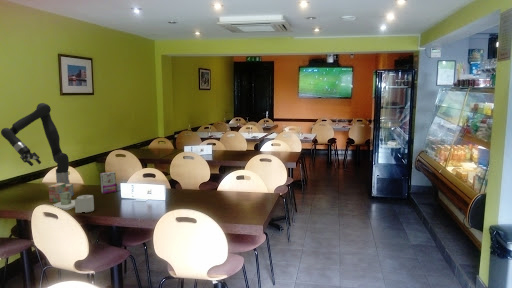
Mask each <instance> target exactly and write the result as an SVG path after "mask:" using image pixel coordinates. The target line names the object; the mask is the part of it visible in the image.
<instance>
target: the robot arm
mask: <svg viewBox="0 0 512 288" xmlns="http://www.w3.org/2000/svg"><path fill="white" fill-rule="evenodd" d="M51 111H52V109H51V106H50V105H49V104H47V103H45V102H40V103H38V104H37V106H36V108H35V110H33V111H32V112H31V113H29V114H27V115H25V116H23V117H22V118H20V119H18V120H17V121H15V122H14V123H13V124H12V126H11V127H10V128H9V127H5V128H2V129H1V132H0V133H1V136H2V137H3V138H4V139H5V140H7V142H8V143H9V144H10V145H11V146H12V147H13V148H14V150H15V152H17V153H18V154H19V155H20V157H19V158H20V159H21V160H22V162H23V163H26V164H28V165H29V166H31V167H33V166H34V163H33V161H35V162H36V163H37V164H38V165H40V164H41V163H42V161H41V160H40V156H39V155H38V154H37V153H36V152H33V153H32V152H31V149H30V148H29V147H28V146H27V145H26V144H25V143H24V142H23V141H22V140H21V139H20V138H19V137H17V134H19V132H20V131H22V130H24V129H25V128H27V127H28V126H29V125H31V124H32V123H34V122H36V121H37V120H39V119H40V121H41V123H42V127H43V130H44V133H45V137H46V139H47V142H48V145H49V148H50V150H51V151H50V152H51V154H52V159H53V161H54V163H56V164H57V167H56V168H55V177H56V178H55V179H56V184H57V183H66V184H71V183H70V179H69V178H70V177H69V167H70V161H69V159H70V158H69V156H68V154H67V153H64V152H63V151H62V149H61V145H60V142H61V141H60V134H59V131H58V129H57V126H56V125H55V123H54V121H53V120H52V117H51ZM31 160H32V161H31Z"/></svg>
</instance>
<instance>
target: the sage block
mask: <svg viewBox="0 0 512 288" xmlns="http://www.w3.org/2000/svg"><path fill="white" fill-rule="evenodd" d="M60 198H61V201H60V202H61V205H68V204H70V203H71V200H72V196H71V192H64V193H61V194H60Z"/></svg>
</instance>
